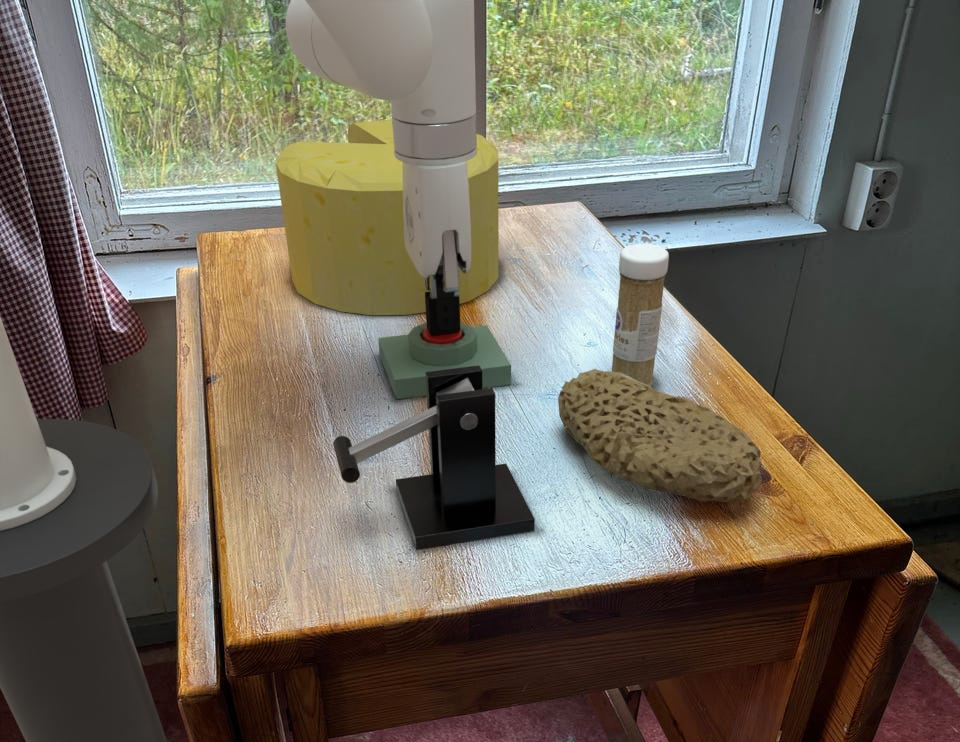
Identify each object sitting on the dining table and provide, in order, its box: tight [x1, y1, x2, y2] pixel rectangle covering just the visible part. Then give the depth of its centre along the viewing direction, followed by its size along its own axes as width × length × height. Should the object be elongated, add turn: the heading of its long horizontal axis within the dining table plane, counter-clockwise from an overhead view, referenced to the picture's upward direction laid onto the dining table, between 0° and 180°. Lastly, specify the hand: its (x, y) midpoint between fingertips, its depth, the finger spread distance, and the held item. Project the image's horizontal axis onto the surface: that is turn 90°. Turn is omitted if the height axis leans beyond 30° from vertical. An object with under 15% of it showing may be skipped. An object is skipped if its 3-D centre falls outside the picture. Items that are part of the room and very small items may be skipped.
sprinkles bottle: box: [611, 243, 670, 388], centre depth 95 cm, size 5×5×14 cm
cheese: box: [275, 119, 499, 316], centre depth 118 cm, size 26×26×15 cm
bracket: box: [395, 365, 536, 550], centre depth 79 cm, size 10×9×12 cm
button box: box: [377, 321, 512, 400], centre depth 101 cm, size 12×10×4 cm
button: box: [423, 328, 462, 344], centre depth 100 cm, size 4×4×2 cm
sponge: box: [557, 368, 763, 503], centre depth 85 cm, size 13×8×20 cm
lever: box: [332, 378, 474, 484], centre depth 76 cm, size 12×5×2 cm, turn 104°
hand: (443, 331), depth 100 cm, fingers closed
